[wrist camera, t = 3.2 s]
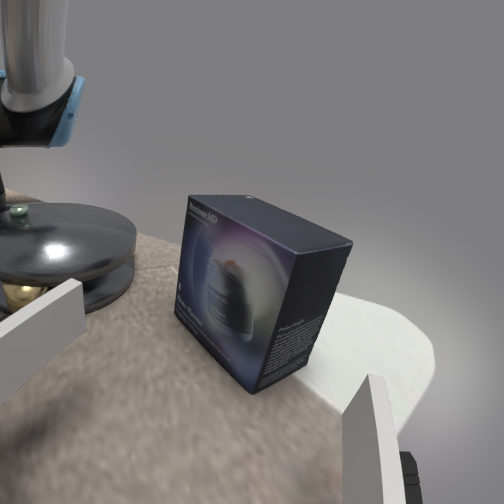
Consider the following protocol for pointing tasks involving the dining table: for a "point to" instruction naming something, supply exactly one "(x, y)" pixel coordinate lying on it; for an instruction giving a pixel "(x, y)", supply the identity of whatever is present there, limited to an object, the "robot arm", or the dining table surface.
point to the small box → (256, 284)
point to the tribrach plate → (64, 253)
